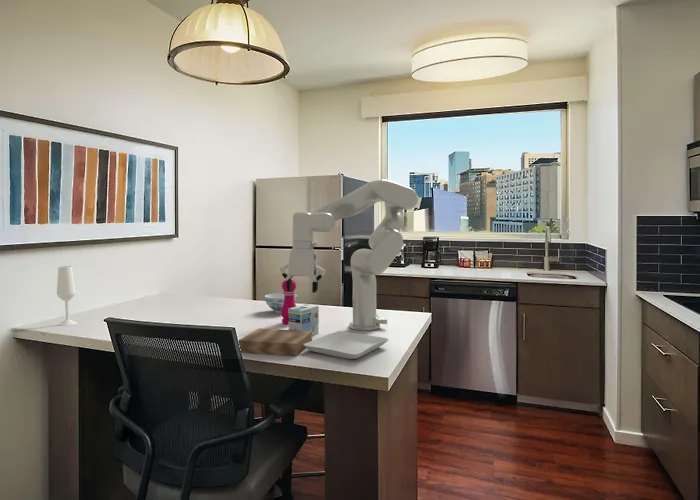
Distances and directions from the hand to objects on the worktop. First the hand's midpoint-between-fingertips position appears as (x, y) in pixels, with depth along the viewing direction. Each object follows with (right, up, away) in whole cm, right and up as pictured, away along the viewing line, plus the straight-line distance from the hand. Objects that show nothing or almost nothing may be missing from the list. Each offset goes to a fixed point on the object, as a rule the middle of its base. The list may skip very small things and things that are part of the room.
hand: (302, 291), depth 163 cm
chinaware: (-15, -14, +44) cm, 48 cm away
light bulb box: (+1, -17, +1) cm, 17 cm away
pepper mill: (-7, -15, +21) cm, 27 cm away
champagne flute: (-100, -16, +20) cm, 103 cm away
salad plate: (+17, -18, -17) cm, 30 cm away
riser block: (-7, -18, -14) cm, 24 cm away
